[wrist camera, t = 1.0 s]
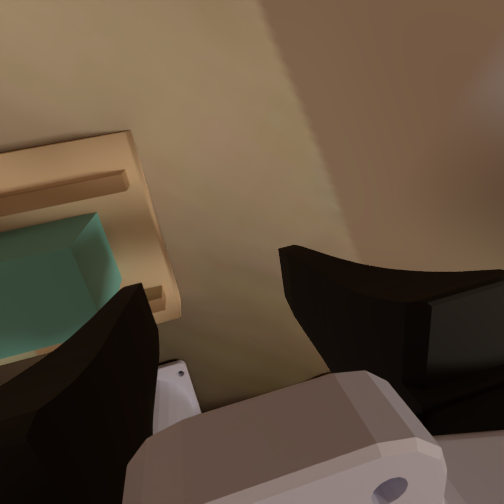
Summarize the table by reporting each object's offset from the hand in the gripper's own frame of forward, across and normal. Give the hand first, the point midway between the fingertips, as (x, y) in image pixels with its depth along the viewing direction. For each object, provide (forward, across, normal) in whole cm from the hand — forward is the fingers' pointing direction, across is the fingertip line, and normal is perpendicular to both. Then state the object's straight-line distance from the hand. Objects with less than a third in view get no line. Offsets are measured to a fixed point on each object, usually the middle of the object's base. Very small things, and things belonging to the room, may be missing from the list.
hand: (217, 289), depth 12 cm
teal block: (+7, +8, 0) cm, 11 cm away
